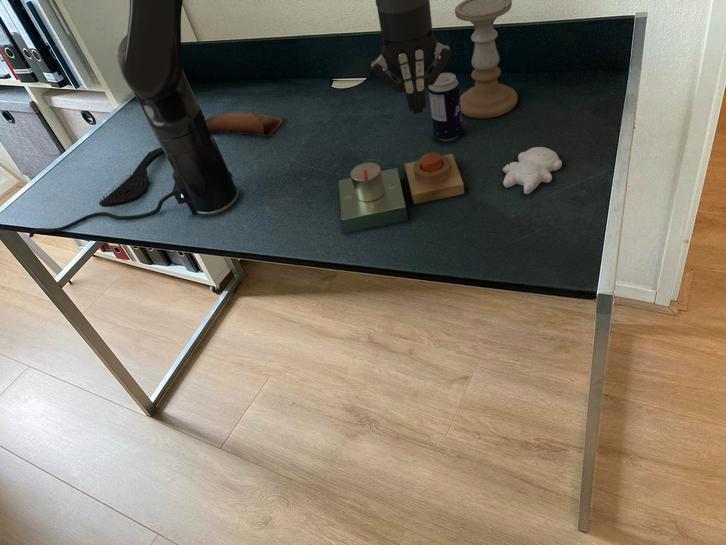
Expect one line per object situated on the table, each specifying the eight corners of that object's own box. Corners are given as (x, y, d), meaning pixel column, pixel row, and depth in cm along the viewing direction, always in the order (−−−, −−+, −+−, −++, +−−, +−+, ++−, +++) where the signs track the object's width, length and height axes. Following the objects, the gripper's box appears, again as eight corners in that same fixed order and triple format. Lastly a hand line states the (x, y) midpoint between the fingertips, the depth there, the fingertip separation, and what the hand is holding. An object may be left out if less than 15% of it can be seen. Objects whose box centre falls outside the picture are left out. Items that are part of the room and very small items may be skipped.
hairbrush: (175, 137, 125) (119, 199, 108) (182, 151, 128) (127, 214, 110) (146, 140, 128) (85, 201, 110) (153, 154, 130) (95, 215, 112)
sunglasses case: (285, 117, 126) (270, 102, 120) (277, 145, 125) (261, 131, 119) (226, 115, 134) (209, 101, 128) (217, 141, 133) (200, 128, 127)
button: (423, 174, 93) (422, 165, 92) (420, 163, 96) (419, 154, 95) (443, 169, 93) (442, 161, 92) (440, 158, 96) (439, 150, 94)
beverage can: (462, 142, 105) (457, 84, 96) (433, 144, 106) (425, 87, 98) (463, 126, 108) (459, 70, 100) (435, 129, 110) (429, 73, 102)
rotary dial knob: (355, 187, 96) (349, 164, 92) (383, 181, 95) (378, 158, 92) (356, 204, 92) (350, 181, 89) (386, 198, 91) (381, 175, 88)
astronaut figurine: (490, 183, 93) (489, 169, 91) (529, 149, 98) (529, 134, 96) (534, 199, 88) (534, 184, 86) (573, 162, 93) (574, 147, 91)
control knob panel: (345, 233, 92) (341, 219, 90) (342, 193, 101) (338, 179, 98) (408, 220, 91) (405, 205, 89) (399, 181, 100) (397, 166, 97)
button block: (413, 204, 94) (410, 186, 91) (406, 173, 101) (403, 155, 98) (464, 194, 93) (462, 175, 90) (453, 163, 100) (451, 144, 97)
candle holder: (528, 94, 112) (529, -7, 98) (498, 123, 107) (495, 20, 93) (477, 86, 119) (471, -10, 105) (446, 113, 114) (436, 15, 100)
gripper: (444, -18, 78) (453, 92, 90) (356, 2, 80) (376, 108, 91) (453, -2, 73) (461, 113, 85) (358, 19, 74) (380, 130, 86)
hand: (417, 110), depth 88 cm, fingers closed
